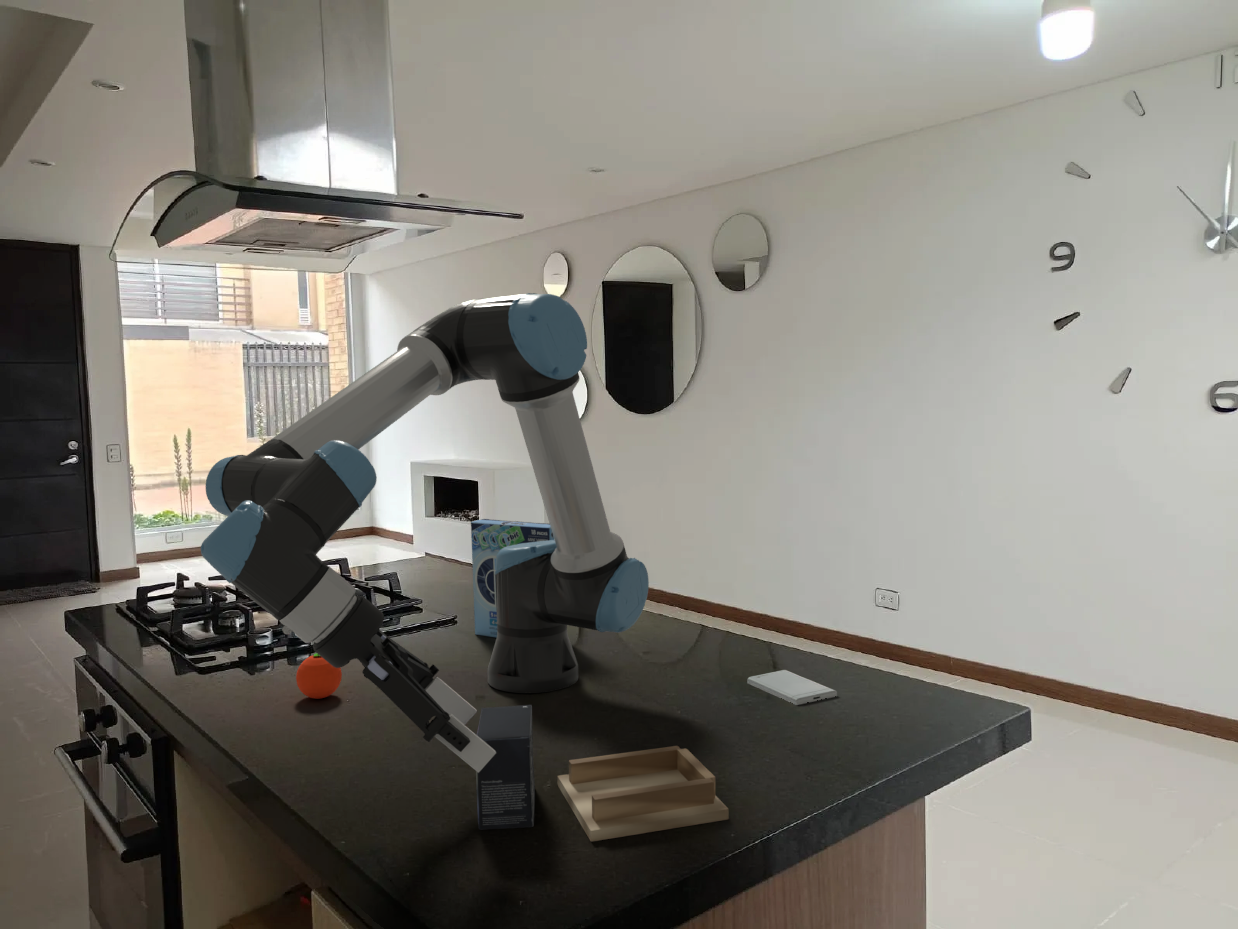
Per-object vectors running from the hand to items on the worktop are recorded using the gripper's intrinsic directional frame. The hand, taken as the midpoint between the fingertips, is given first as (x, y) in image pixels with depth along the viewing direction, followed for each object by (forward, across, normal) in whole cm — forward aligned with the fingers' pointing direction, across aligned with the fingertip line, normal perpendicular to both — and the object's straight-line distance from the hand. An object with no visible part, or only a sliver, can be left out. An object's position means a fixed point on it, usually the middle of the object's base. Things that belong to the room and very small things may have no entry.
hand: (477, 739), depth 104 cm
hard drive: (+45, -28, +32) cm, 62 cm away
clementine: (-6, -50, -19) cm, 53 cm away
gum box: (+20, -74, +7) cm, 77 cm away
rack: (+19, +3, +7) cm, 20 cm away
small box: (+9, -1, -4) cm, 10 cm away
